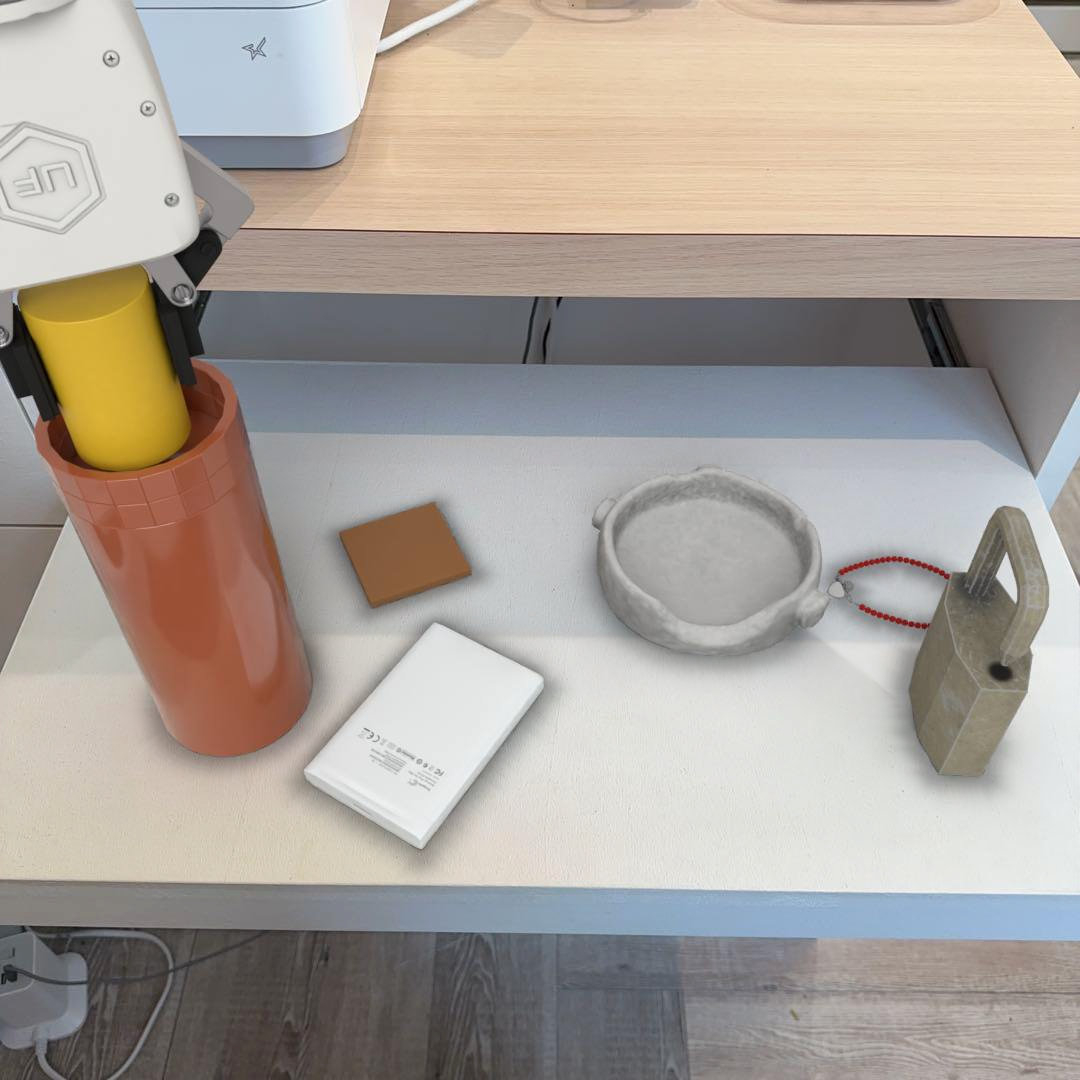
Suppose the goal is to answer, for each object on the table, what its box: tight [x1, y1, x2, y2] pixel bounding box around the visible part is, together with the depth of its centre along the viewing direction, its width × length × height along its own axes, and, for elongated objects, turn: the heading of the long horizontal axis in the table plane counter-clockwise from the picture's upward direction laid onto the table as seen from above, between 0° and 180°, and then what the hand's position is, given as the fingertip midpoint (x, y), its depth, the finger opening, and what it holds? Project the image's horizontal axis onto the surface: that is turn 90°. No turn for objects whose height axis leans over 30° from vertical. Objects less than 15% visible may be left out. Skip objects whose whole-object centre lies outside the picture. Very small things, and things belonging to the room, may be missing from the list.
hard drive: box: [303, 622, 545, 850], centre depth 63 cm, size 2×8×12 cm
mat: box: [338, 502, 472, 609], centre depth 73 cm, size 7×7×1 cm
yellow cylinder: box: [16, 264, 191, 472], centre depth 47 cm, size 5×5×8 cm
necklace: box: [826, 555, 950, 630], centre depth 70 cm, size 9×6×1 cm
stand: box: [33, 357, 313, 757], centre depth 57 cm, size 9×9×22 cm
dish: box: [591, 463, 831, 657], centre depth 69 cm, size 14×14×5 cm
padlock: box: [908, 505, 1050, 778], centre depth 59 cm, size 4×8×15 cm, turn 176°
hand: (116, 381), depth 48 cm, fingers closed on yellow cylinder, 5 cm apart
